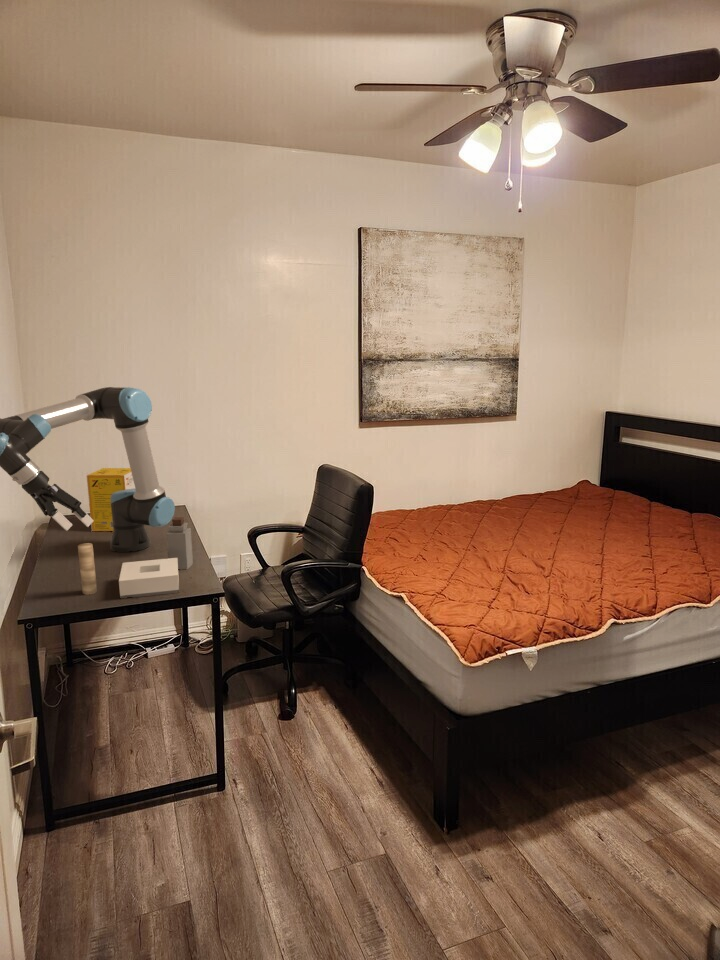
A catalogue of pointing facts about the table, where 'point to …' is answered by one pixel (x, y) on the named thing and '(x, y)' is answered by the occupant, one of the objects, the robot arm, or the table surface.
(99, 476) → the packaging box
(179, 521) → the perfume bottle
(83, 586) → the birch peg
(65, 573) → the table surface
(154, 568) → the socket block
